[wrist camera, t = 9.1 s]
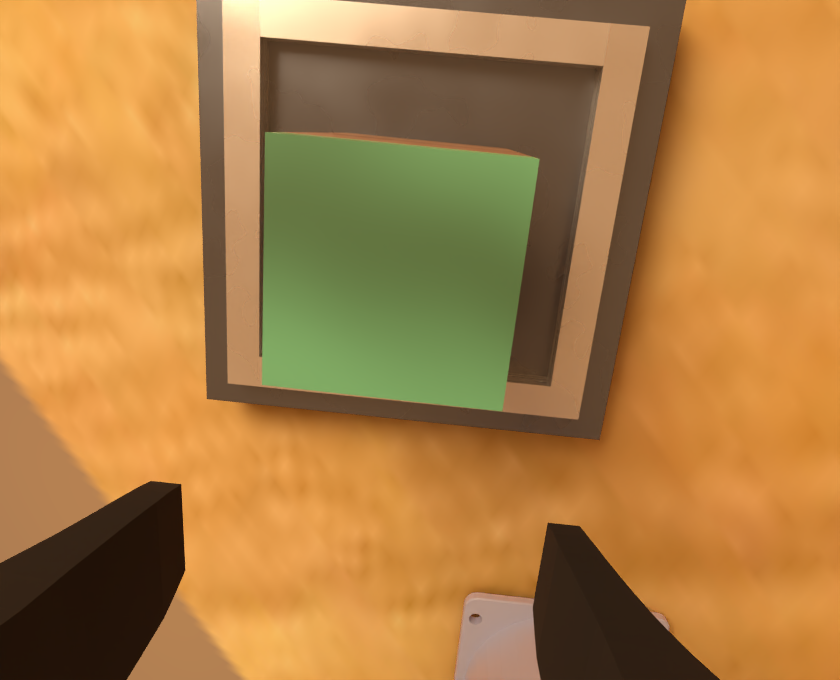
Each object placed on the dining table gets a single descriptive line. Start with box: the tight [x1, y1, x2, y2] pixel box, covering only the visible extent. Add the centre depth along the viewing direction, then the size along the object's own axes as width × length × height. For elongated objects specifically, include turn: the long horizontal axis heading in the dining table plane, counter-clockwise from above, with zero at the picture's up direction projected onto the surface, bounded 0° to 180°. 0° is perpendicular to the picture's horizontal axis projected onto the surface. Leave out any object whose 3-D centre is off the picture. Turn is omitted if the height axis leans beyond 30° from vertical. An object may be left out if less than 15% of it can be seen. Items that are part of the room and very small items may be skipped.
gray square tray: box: [196, 0, 686, 440], centre depth 19 cm, size 13×13×3 cm
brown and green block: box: [262, 132, 540, 411], centre depth 15 cm, size 4×4×8 cm
